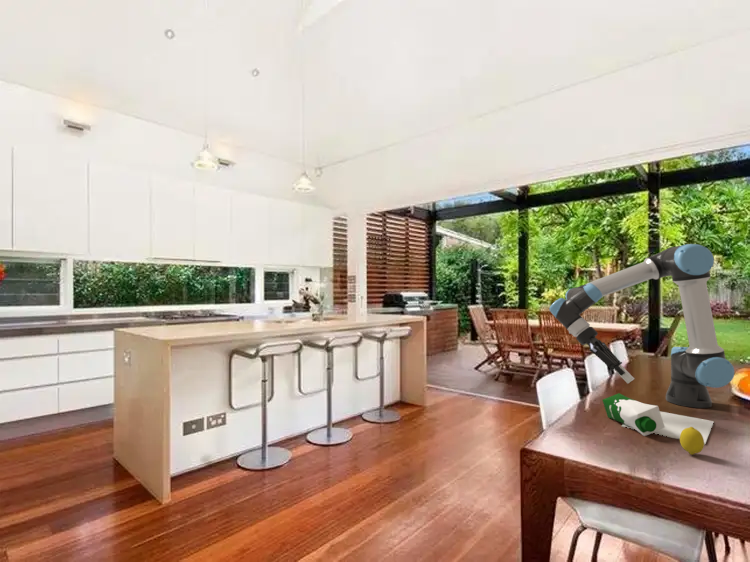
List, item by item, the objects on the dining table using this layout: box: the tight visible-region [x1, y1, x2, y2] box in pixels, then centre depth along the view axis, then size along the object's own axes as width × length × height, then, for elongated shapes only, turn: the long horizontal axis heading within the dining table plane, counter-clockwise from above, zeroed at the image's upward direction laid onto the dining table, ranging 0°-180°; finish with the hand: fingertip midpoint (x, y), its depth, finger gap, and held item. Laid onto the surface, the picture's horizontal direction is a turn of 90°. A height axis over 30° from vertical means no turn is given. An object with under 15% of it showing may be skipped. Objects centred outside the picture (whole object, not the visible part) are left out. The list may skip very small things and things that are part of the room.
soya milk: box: [602, 392, 665, 437], centre depth 142 cm, size 9×9×20 cm
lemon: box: [679, 427, 705, 456], centre depth 120 cm, size 6×6×8 cm
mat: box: [621, 410, 715, 446], centre depth 145 cm, size 22×28×1 cm
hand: (631, 381), depth 153 cm, fingers closed
